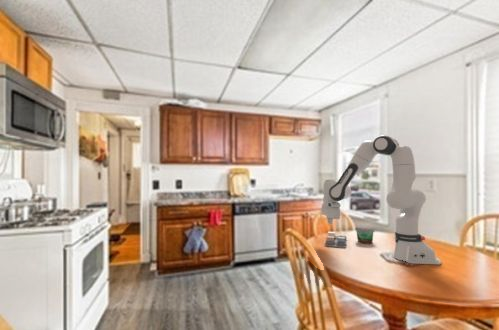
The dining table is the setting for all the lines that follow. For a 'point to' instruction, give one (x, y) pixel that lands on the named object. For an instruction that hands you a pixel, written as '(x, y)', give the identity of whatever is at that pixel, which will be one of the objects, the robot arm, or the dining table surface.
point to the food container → (365, 235)
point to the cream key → (331, 234)
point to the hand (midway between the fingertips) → (330, 223)
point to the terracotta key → (330, 238)
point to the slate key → (341, 239)
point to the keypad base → (336, 243)
